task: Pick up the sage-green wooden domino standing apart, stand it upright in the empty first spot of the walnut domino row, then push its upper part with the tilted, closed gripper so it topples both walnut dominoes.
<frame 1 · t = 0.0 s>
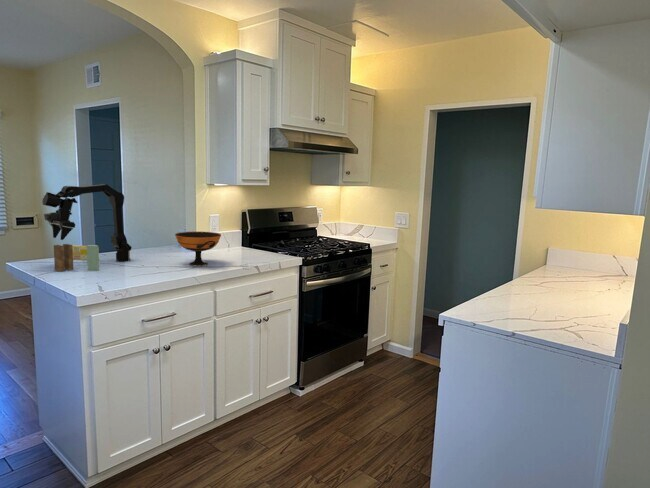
hand: (57, 238, 235), 15 cm above the worktop, tool pointing down, fingers open, 9 cm apart
cup: (198, 264, 262), on the worktop
walnut domino middle: (68, 269, 235), on the worktop
candy box: (85, 260, 260), on the worktop
walnut domino end: (59, 270, 231), on the worktop
green domino: (93, 270, 236), on the worktop
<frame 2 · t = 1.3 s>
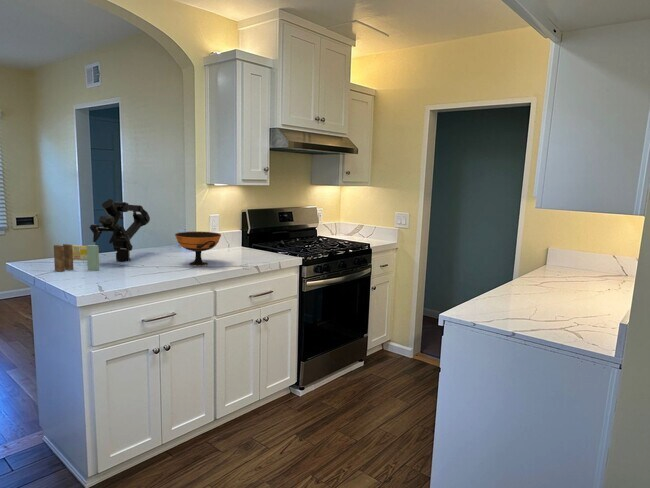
hand: (101, 242, 242), 13 cm above the worktop, tool tilted 45°, fingers open, 9 cm apart
nothing on the worktop moved.
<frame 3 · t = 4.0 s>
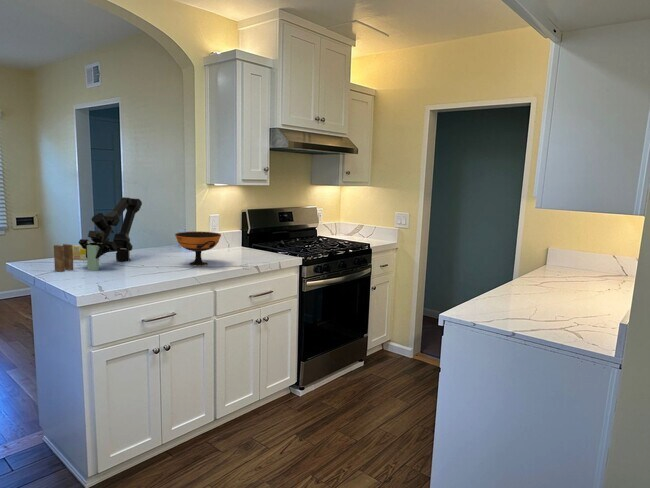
hand: (91, 257, 234), 7 cm above the worktop, tool tilted 45°, fingers closed on green domino, 5 cm apart
green domino: (93, 269, 236), on the worktop, touching gripper
everything else where it was.
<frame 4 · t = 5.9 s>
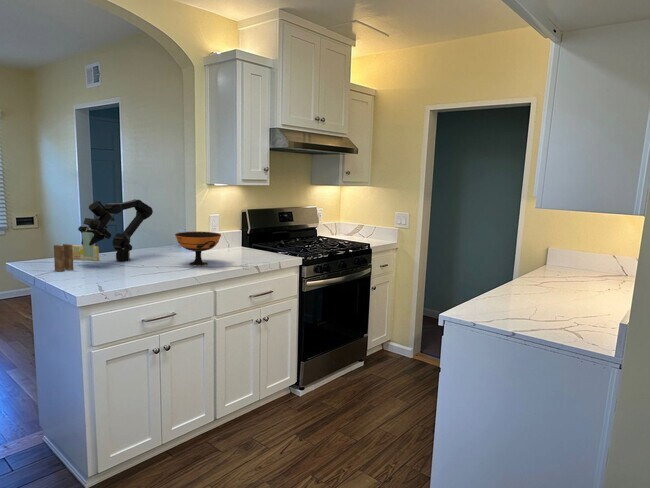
hand: (85, 244, 239), 12 cm above the worktop, tool tilted 45°, fingers closed on green domino, 5 cm apart
green domino: (88, 256, 241), point 6 cm above the worktop, touching gripper
everything else where it was.
when the fingers open (8 cm above the worktop, at t = 8.1 s): green domino stays where it is, on the worktop.
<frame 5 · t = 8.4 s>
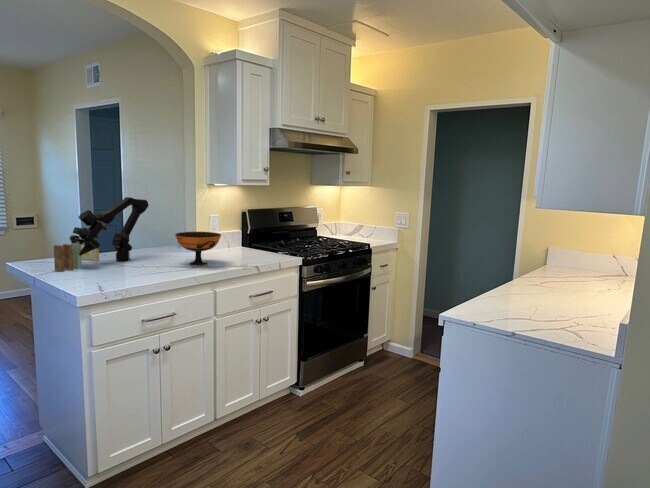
hand: (74, 254, 237), 8 cm above the worktop, tool tilted 45°, fingers open, 9 cm apart
green domino: (77, 267, 239), on the worktop
everything else where it was.
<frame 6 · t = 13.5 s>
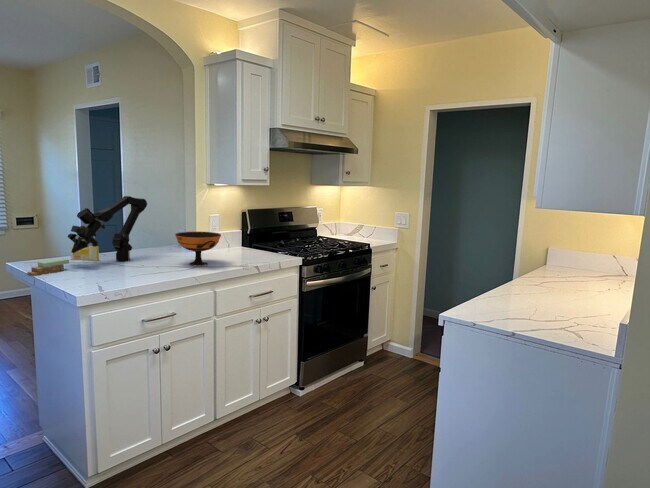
hand: (72, 252, 236), 9 cm above the worktop, tool tilted 45°, fingers closed
walnut domino middle: (60, 266, 232), point 2 cm above the worktop, tilted 90°, touching walnut domino end
walnut domino end: (57, 270, 230), on the worktop, tilted 90°, touching walnut domino middle
green domino: (66, 260, 235), point 4 cm above the worktop, tilted 90°
everything else where it was.
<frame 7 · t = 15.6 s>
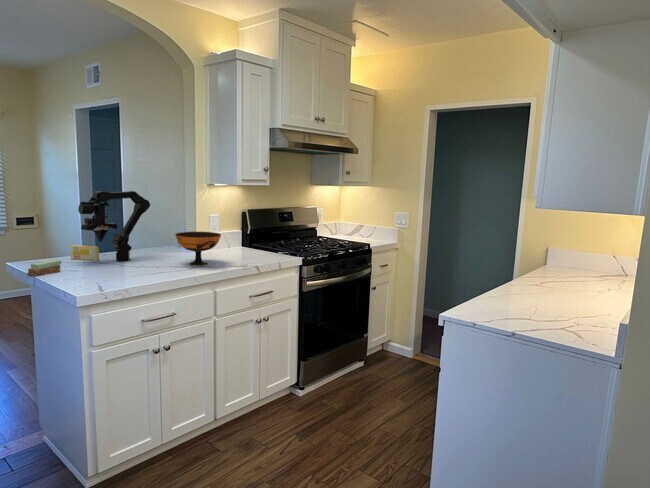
hand: (100, 241, 252), 12 cm above the worktop, tool pointing down, fingers closed
walnut domino middle: (56, 266, 230), point 2 cm above the worktop, tilted 90°, touching green domino, walnut domino end
green domino: (57, 262, 231), point 4 cm above the worktop, tilted 90°, touching walnut domino middle
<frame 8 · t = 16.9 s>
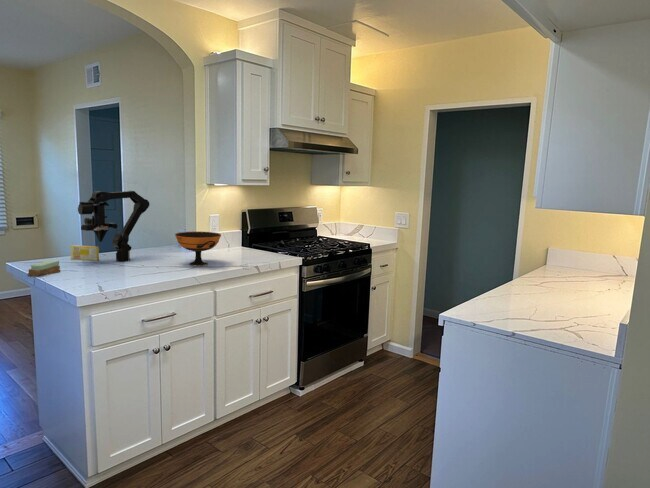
hand: (100, 241, 252), 12 cm above the worktop, tool pointing down, fingers closed
green domino: (54, 262, 230), point 4 cm above the worktop, tilted 90°, touching walnut domino middle
at the end: walnut domino end tilted 90°; walnut domino middle tilted 90°; green domino inside the target area (5.2 cm from its centre), point 4.3 cm above the worktop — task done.
